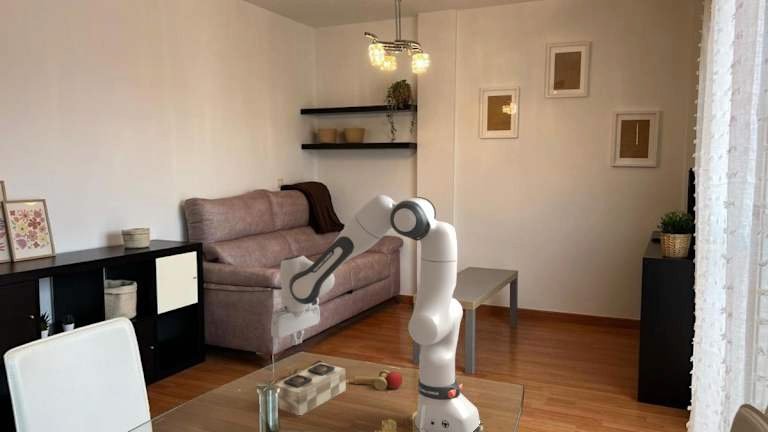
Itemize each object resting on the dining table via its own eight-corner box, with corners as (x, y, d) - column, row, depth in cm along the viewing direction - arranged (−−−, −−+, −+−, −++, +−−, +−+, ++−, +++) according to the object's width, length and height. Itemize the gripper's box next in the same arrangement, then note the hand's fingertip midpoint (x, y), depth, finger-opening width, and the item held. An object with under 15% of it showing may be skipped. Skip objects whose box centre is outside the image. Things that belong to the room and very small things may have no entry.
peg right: (330, 390, 205) (329, 367, 204) (322, 394, 202) (322, 371, 201) (321, 388, 207) (320, 365, 206) (314, 391, 204) (313, 369, 203)
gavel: (311, 354, 235) (333, 356, 232) (311, 365, 235) (334, 367, 232) (288, 370, 215) (312, 372, 212) (288, 382, 215) (312, 384, 212)
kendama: (352, 392, 208) (399, 390, 202) (350, 374, 208) (397, 372, 203) (359, 387, 215) (405, 386, 210) (358, 370, 216) (403, 368, 210)
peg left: (307, 402, 195) (306, 379, 194) (299, 407, 192) (298, 383, 191) (298, 400, 198) (297, 376, 197) (290, 404, 194) (289, 380, 193)
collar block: (345, 390, 206) (345, 366, 205) (299, 416, 187) (298, 389, 186) (320, 383, 213) (319, 359, 212) (273, 407, 193) (272, 381, 192)
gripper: (279, 312, 181) (281, 354, 182) (322, 297, 197) (324, 336, 199) (265, 309, 184) (267, 351, 186) (308, 295, 201) (310, 334, 202)
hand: (297, 343), depth 192 cm, fingers closed
